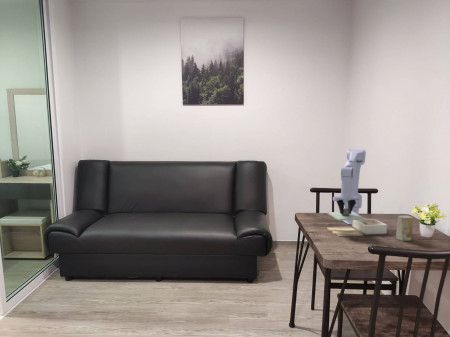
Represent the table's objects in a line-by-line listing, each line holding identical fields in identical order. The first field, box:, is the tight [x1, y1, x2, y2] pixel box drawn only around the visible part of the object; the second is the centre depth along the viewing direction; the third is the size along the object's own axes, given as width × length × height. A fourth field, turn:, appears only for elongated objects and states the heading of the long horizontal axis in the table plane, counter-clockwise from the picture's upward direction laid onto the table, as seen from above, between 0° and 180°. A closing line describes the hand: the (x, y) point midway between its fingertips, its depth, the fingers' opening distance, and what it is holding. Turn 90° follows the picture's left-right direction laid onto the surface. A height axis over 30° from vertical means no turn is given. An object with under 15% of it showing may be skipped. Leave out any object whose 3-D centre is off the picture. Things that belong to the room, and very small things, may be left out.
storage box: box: [351, 218, 388, 236], centre depth 194 cm, size 13×13×5 cm
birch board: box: [326, 226, 364, 238], centre depth 191 cm, size 15×14×1 cm
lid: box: [327, 207, 365, 222], centre depth 190 cm, size 14×14×5 cm
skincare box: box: [395, 214, 414, 242], centre depth 179 cm, size 6×4×12 cm
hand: (345, 213), depth 190 cm, fingers closed on lid, 4 cm apart
